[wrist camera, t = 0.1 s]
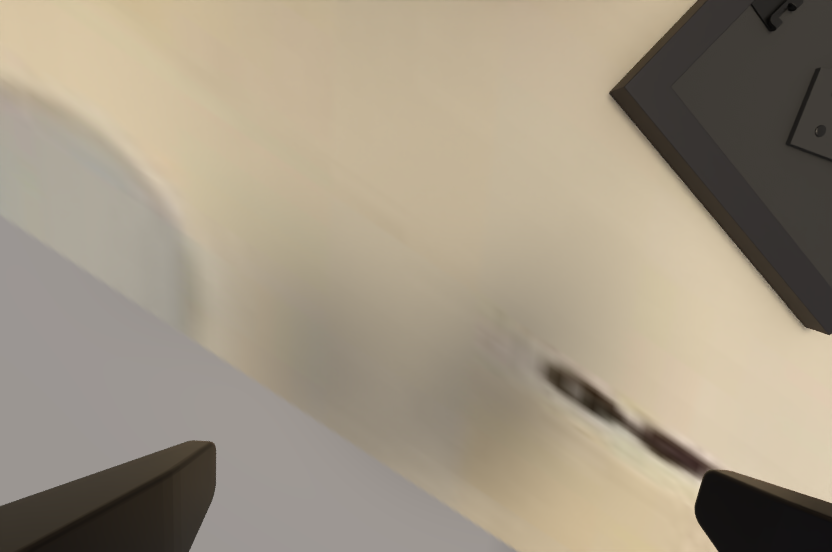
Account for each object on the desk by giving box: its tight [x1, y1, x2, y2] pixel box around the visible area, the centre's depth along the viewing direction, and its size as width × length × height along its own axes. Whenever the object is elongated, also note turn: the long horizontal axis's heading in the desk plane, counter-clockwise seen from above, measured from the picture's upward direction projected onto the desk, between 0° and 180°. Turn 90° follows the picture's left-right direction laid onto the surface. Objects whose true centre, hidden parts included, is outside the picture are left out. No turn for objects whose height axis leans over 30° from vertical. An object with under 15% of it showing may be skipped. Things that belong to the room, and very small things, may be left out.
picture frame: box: [610, 0, 832, 335], centre depth 21 cm, size 13×2×18 cm
